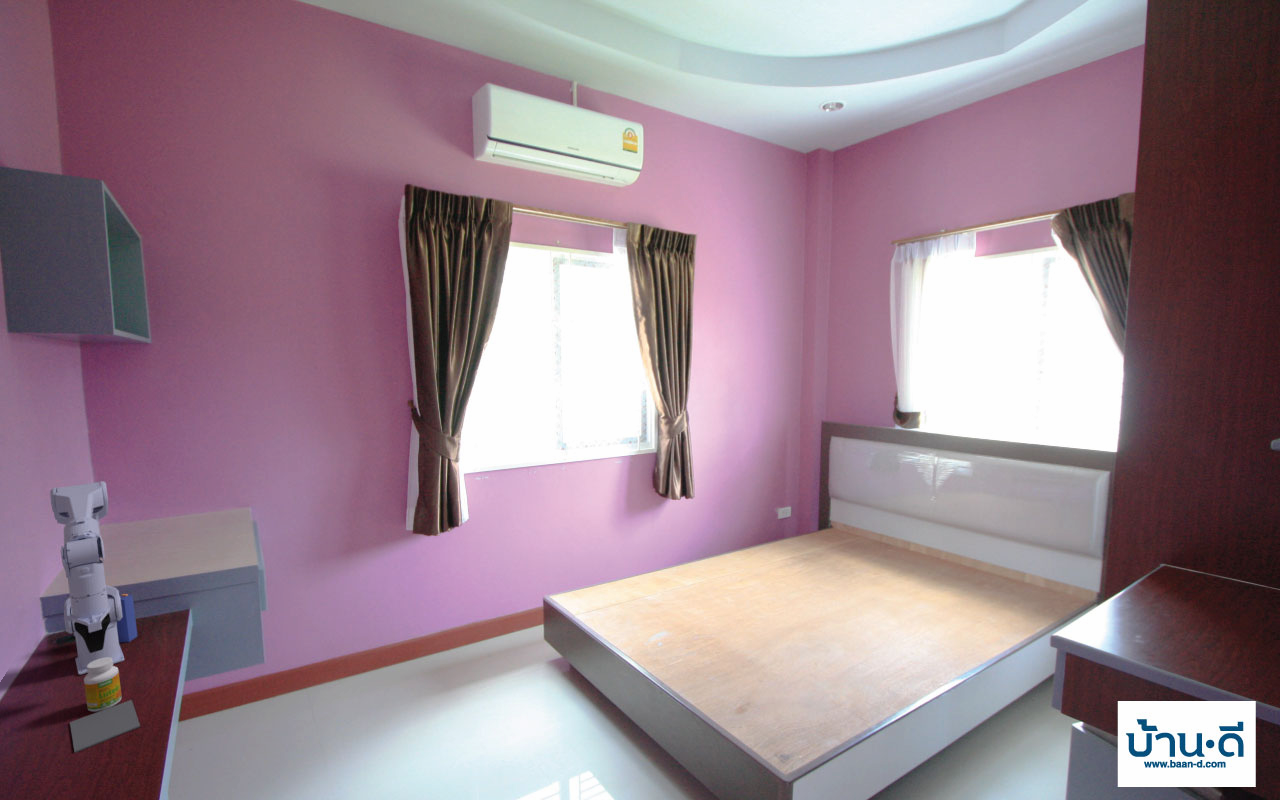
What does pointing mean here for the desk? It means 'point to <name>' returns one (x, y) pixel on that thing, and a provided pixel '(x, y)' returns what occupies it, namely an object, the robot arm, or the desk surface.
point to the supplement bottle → (102, 685)
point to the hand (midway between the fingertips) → (96, 650)
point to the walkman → (127, 620)
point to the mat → (103, 725)
